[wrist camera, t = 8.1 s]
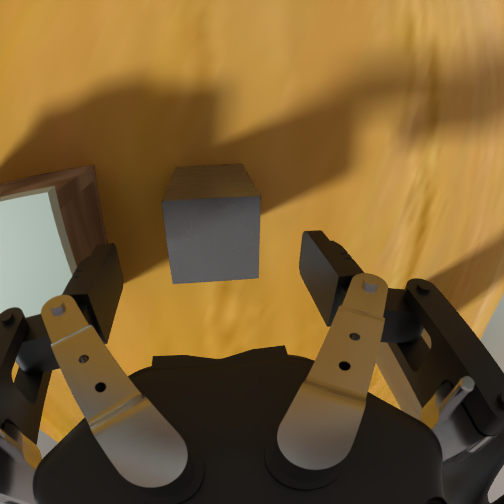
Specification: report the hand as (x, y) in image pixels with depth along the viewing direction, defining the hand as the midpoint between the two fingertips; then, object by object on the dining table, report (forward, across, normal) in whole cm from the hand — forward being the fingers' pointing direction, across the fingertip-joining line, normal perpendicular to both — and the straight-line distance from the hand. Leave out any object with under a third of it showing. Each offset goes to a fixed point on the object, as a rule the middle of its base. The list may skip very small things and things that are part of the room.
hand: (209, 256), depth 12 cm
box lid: (+3, +14, +2) cm, 14 cm away
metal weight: (+9, 0, 0) cm, 9 cm away
